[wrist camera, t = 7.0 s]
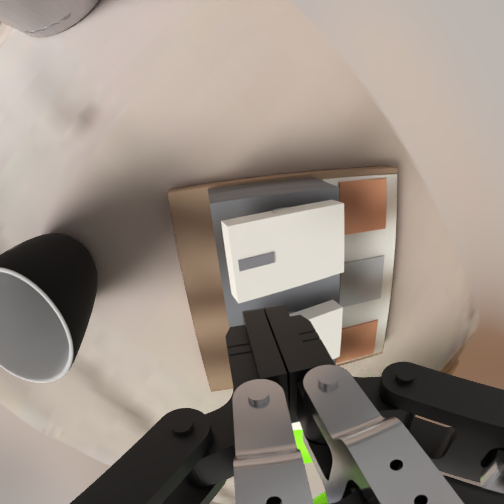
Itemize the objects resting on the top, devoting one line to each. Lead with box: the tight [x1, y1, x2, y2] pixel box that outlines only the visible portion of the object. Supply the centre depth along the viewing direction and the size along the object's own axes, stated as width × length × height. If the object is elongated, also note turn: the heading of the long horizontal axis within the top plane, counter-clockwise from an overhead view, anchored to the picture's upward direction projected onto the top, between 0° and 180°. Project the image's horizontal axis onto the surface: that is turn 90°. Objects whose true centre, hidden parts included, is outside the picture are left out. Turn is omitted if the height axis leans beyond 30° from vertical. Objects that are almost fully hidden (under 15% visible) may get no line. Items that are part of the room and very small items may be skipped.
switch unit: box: [167, 166, 398, 392], centre depth 26 cm, size 20×19×6 cm
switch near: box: [221, 200, 344, 304], centre depth 18 cm, size 4×7×2 cm, turn 96°
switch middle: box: [288, 300, 343, 359], centre depth 21 cm, size 4×7×2 cm, turn 96°
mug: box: [0, 233, 97, 383], centre depth 20 cm, size 12×9×10 cm
